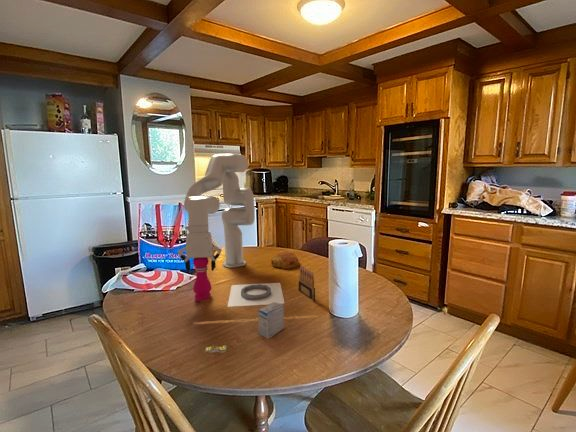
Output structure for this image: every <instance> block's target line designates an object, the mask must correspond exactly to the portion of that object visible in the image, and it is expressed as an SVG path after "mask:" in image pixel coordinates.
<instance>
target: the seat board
mask: <svg viewBox="0 0 576 432" xmlns="http://www.w3.org/2000/svg"><path fill="white" fill-rule="evenodd" d="M258 284H260V285H267V286H268V287H270V288H271V295H270V296H269V297H267V298H264V299H261V300H249V299H245V298H243V297H242V296H241V289H243V288H244V287H246V286H250V285H258ZM266 292H267V291H266V290H262V289H252V290H249V291H247V292H245V293H246V294H250V295H260V294H264V293H266ZM283 295H284V294H283V289H282V285H281V282H272V283H271V282H270V283H251V284H250V283H249V284H232V285H231V287H230V293H229V297H228V301H227V302H228V303H227V307H226V308H229V307H233V308H234V307H248V306H249V307H250V306H267V305H269V304H271V303H273V302H276V303H279V304H281V305H284V304H285V299H284V296H283Z"/></svg>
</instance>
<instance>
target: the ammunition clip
mask: <svg viewBox="0 0 576 432" xmlns="http://www.w3.org/2000/svg"><path fill="white" fill-rule="evenodd" d="M298 275H299V276H298V277H299V280H298V291H299V292H300V293H302V294H303V295H304V296H306V297H308V298H309V299H310V300H311V301H312V300H314V301H316V288H315V278H314V271H312V272H311V270H309V269H308V268H307V267H304V266H302V265H300V268H299V274H298Z"/></svg>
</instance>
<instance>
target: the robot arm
mask: <svg viewBox="0 0 576 432" xmlns="http://www.w3.org/2000/svg"><path fill="white" fill-rule="evenodd" d="M248 164H249V163H248V159H247V157H246V156H245V155H243V154H238V153H218V154H214V155H212V156H211V157H210V159H209V161H208V165H207V168H206V170H205V172H204V175H203V177H200V178H199V179H198V180H197V181H195V182H194V183H193V184H192V185H191V186H190V187H189V188H188V191H187V193H186V195H185V198H184V203H183V206H184V210H185V212H186V213H187V217H188V219H187V220H188V225H185V227H184V230H186V231H188V232H187V233H186V238H185V247H183V248H181V249H179V250H177V254H178V255H179V257H180V259H182V261H184V264H185V265H184V266H185V270H186V272H187V273H188V272H190V271H191V261H190V259H194V258H209V259H211V261H210V266H211V267H210V269H211V270H210V271H212V272H214V270H215V269H216V266H217V265H216V260H217V259H218V258H219V257H220V256H221V252H222V251H223V250H222V248H221V247H217V246H216V245H213V239H212V233H211V231H210V230H209V215H214V214H216V213H217V212H218V211H219V209H220V206H221V205H220V201H219V199H218V198H217V197H216V196H212V195H203V194H206V193H207V192H210V191H214V190H216V189H218V188H220V187H221V186H222V195H223V196H222V197H223V202H224V204H225V205H227V206H235V207H227V208H225V209H223V210H222V212H221V221H222V225H223V234H224V251H225V252H224V253H225V255H224V256H225V260H224V261H222V265H223V267H224V268H225V267H226V268H232V269H233V268H240V267H244V266H245V265H246V264H247V261H246V260H245V259H244V254H243V253H244V252H243V251H244V250H243V233H242V229H241V228H240V227H239V226H252V225H254V223H255V201H254V200H255V199H254V197H255V196H254V193H253V190H252V189H251V187H240V182H239V177H238V174H237V173H244V172H246V171H247V169H248ZM236 206H238V207H236ZM239 206H241V207H239ZM242 206H243V207H242ZM214 251H216V252H217V253H216V254H214ZM183 252H185V254H184V253H183Z"/></svg>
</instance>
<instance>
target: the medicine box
mask: <svg viewBox="0 0 576 432" xmlns="http://www.w3.org/2000/svg"><path fill="white" fill-rule="evenodd" d="M284 316H285V306H284V304H279V303H276V302H273V303H271V304H269V305H264V307H262V308H259V309H258V311H257V318H258V322H257V323H258V324H257V326H258V335H260V336H262V337H263V338H265V339H270V338H271V337H273V336H274V335H277V333H280V331H283V330H284V329H285V317H284Z"/></svg>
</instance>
